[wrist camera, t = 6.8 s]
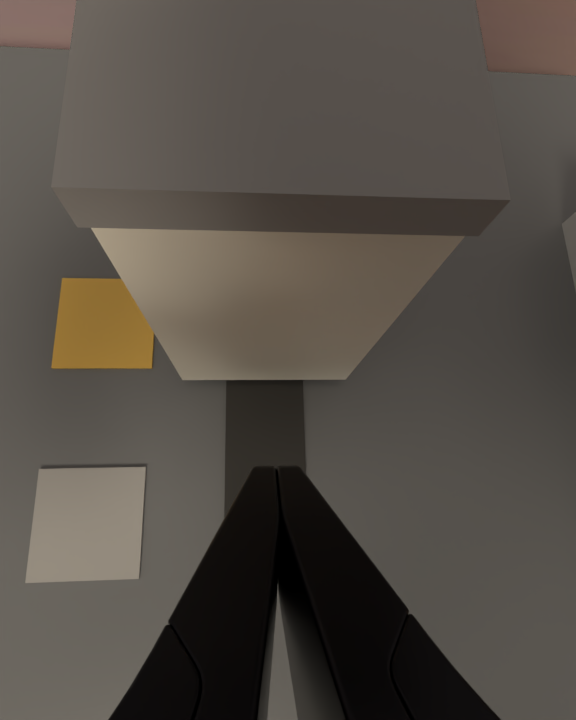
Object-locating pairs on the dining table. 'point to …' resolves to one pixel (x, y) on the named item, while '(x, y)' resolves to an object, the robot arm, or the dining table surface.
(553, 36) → the dining table surface
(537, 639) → the breaker panel
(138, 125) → the beige rectangular block
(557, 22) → the dining table surface
